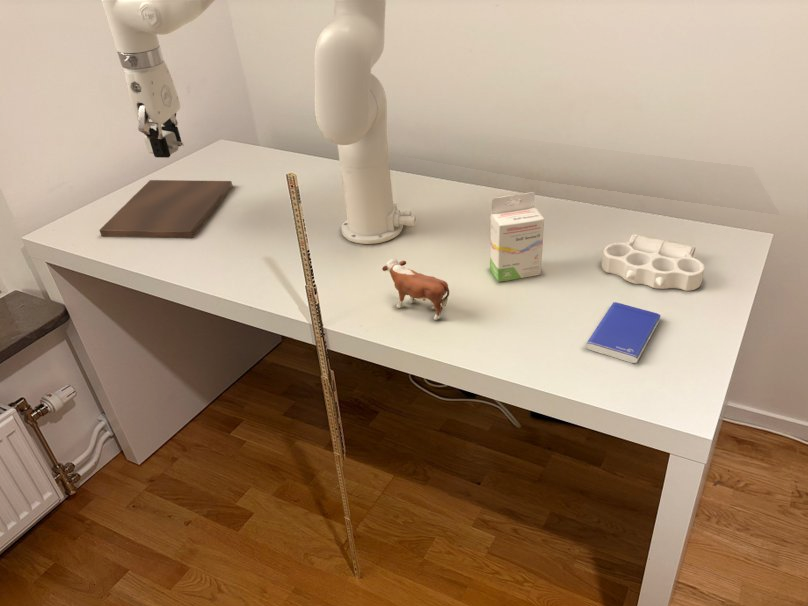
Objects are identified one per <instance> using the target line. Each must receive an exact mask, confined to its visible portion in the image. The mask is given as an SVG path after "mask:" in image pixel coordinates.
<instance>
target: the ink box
mask: <svg viewBox="0 0 808 606" xmlns="http://www.w3.org/2000/svg"><path fill="white" fill-rule="evenodd" d="M535 198H536V192H534V191H530V192H524V193H517V194H510V195H504V196H498V197H493V198H492V199H491V214H490V229H489V230H490V235H489V237H490V239H489V240H490V242H489V243H490V244H489V255H490V256H489V270H490V271H491V273H492V274H493V276H494V278H495V279H496V280H497V282H498V283H502V282H506V281H512V280H517V279H523V278H529V277H536V276H540V275H542V262H543V261H542V260H543V247H544V231H545V217H544V216H543V215H542V214H541V213H540V211H539V210H538V209H537V208H536V207H535ZM512 200H515V201H520V202H515V203H510V204H507V203H509V202H511V201H512Z"/></svg>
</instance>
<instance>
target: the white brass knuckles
mask: <svg viewBox="0 0 808 606" xmlns="http://www.w3.org/2000/svg"><path fill="white" fill-rule="evenodd" d="M695 251H696V247H695V246H693V245H686V244H681V243H676V242H671V241H667V240H665V239H657V238H653V237H648V236H644V235H643V236H642V235H639V234H636V233H634V234H632V235H631V236H630V238H629V240H628V241H626V242H614V243H609V244H608V245H606V246H604V248H603V251H602V257H601V268H602V271H604V272H605V273H607V274H611V275H616V276H619V277H621V278H623V280H625V281H627V282H629V283H631V284H634V285H645V286H648V287H650V288H652V289H659V290H665V289H679V290H682V291H685V292H690V291H694V290H697V289H698V288H700V287H701V284H702V281H703V277H704V273H705V265H704V263H703V262H702V261H701V260H699V259H697V258H694V255H695V253H696V252H695Z"/></svg>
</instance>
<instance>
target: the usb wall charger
mask: <svg viewBox="0 0 808 606" xmlns="http://www.w3.org/2000/svg"><path fill="white" fill-rule="evenodd" d="M154 130H156V128H154ZM162 134H163V137H165V138H166V141H167V145H168V148H169V151H170V156H171V155H173V154H175V153H177V152H178V151H179V147H180V146H178V145H181V146H183V147H184V146H185V145H184V142H183V141H182V142H179V141H177V140H176V137H175V134H174V132H169V131H164V130H162ZM143 139H144V143H145V146H146V149H147V151H148V153H149V154H152V155H154V153H153V150H152V147H151V144H150V141H149V139H147V136H146V135H145V134H144V136H143ZM181 143H182V144H181Z"/></svg>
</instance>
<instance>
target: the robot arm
mask: <svg viewBox="0 0 808 606" xmlns="http://www.w3.org/2000/svg"><path fill="white" fill-rule="evenodd" d="M100 1H101V4H102V7H103V11H104V14H105V17H106V20H107V23H108V27H109V31H110V34H111V36H112V39H113V42H114V46H115V50H116V53H117V55H118V58H119V62H120V65H121V68H122V70H123V71H124V78H125V83H126V88H127V91H128V96H129V100H130V104H131V107H132V110H133V114H134V117H135V119H136V120H137V130H138V132H140V133H142V134H144V135H146V136H147V139H149V141H150V144H151V147H152V150H153V153H154V154H153V157H154V158H163V159H165V158H170V157H171V155H170V151H169V148H168V145H167V141H166V138H165V137H163V134H162V130H164V131H169V132H174V134H175V137H176V140H177V141H179V142H183V141H182V138H181V134H180V130H179V127H178V123H179V122H178V120H177V112H178V111H179V110H180V108H181V103H180V102H181V101H180V98H179V96H178V92H177V89H176V86H175V83H174V80H173V77H172V75H171V72H170V70H169V68H168V65H167V63H166V61H165V60H164V56H163V53H162V49H161V45H160V41H159V38H158V35H159V36H160V35H168V34H171V33H173V32H175V31H177V30H178V29H180V28H182V27H183V26H185V25H187V24H189V23H191V22H193V21H195V20H196V19H198V18H199V16H201V15H202V14H203V13H204V12H205V11H206V10H207V9H208V8H210V6H211V5H212V4H213V3H214V2H215V1H216V0H100ZM386 1H387V0H334V7H333V16H332V20H331V22H330V23H328V24H327V25H326V26H325V27H324V28H323V29H322V31H321V32H320V34H319V35H318V38H317V40H316V44H315V48H314V57H313V58H314V61H313V65H314V67H313V70H314V72H313V74H314V77H313V79H314V80H313V81H314V116H315V120H316V124H317V126H318V129H319V131H320V132H321V133H322V135H323V136H324V137H325V138H326V139H327V140H328V141H330V142H331V143H332V144H336V145H337V152H338V153H337V155H338V161H339V168H340V176H341V182H342V188H343V197H344V202H345V203H344V204H345V211H346V217H347V218H346V219H345V220H344V221H343V222H342V223H341V227H340V228H341V234H342V236H343V237H344V238H345V239H346V240H348V241H350V242H351V243H356V244H361V245H374V244H375V245H376V244H381V243H384V242H388V241H390V240H392V239H395V238H396V237H397V236H398V235H399V234H401V233H402V231H403V227H404V226H410V227H411V226H413V227H414V226H416V215H412V211H408V210H406V211H405V210H404V211H401V210H399V209H398V203H394V200H393V189H392V177H391V169H390V158H389V156H390V155H389V145H388V129H387V127H388V124H387V123H388V121H387V120H388V103H387V97H386V96H387V95H386V91H385V89H384V86H383V84H382V83H381V81H380V80H379V78H377V76H375V75H374V74H373V73H372V68H373V67H374V66H375V64H377V62H378V61H379V59H380V58H381V56H382V54H383V52H384V48H385V24H386V22H385V21H386V5H387V3H386ZM150 120H151V121H150ZM153 126H155V128H153ZM155 129H156V130H155ZM181 144H182V143H181ZM181 146H182V145H178V147H181Z"/></svg>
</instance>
